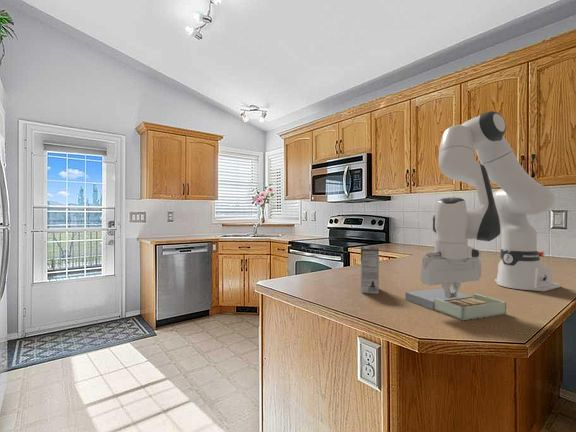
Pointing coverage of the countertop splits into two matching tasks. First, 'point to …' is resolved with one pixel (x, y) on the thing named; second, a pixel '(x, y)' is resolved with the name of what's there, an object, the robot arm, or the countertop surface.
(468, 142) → the robot arm
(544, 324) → the countertop surface
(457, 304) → the tile
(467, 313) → the tray
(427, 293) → the board
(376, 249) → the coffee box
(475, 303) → the tile
